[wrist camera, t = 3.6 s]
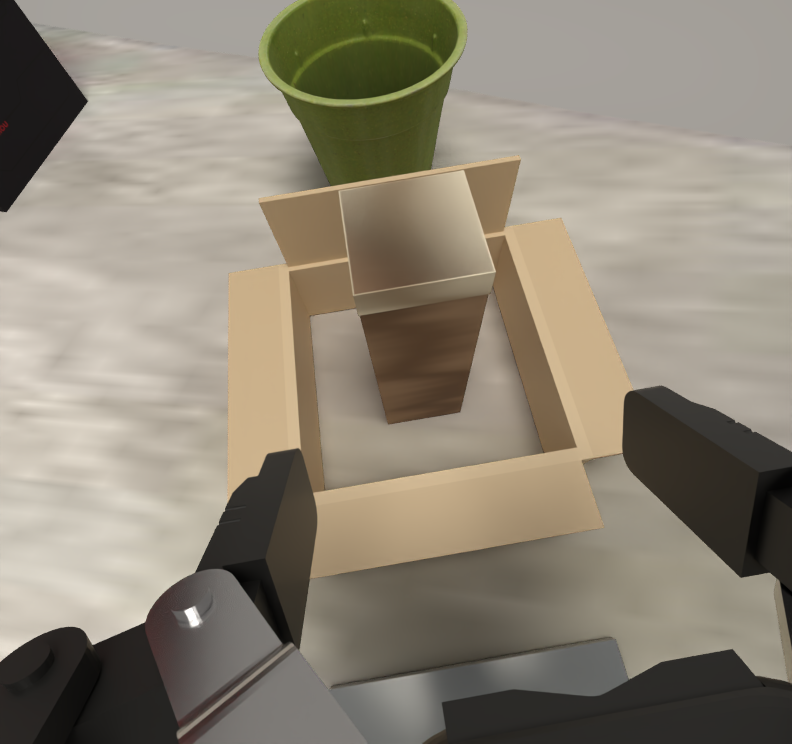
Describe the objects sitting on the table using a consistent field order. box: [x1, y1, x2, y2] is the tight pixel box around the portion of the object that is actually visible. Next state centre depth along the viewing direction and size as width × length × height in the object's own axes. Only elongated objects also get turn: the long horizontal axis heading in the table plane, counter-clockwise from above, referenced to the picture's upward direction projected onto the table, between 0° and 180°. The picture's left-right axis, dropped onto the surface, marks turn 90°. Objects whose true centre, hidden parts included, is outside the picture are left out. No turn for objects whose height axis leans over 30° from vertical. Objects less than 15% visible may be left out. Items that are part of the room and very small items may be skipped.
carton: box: [228, 155, 633, 579], centre depth 22 cm, size 20×17×10 cm
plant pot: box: [259, 0, 467, 186], centre depth 29 cm, size 12×12×11 cm
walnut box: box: [338, 170, 496, 424], centre depth 21 cm, size 5×5×14 cm
